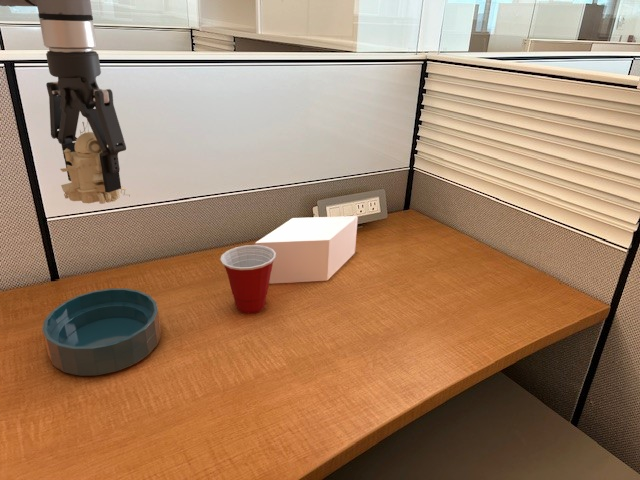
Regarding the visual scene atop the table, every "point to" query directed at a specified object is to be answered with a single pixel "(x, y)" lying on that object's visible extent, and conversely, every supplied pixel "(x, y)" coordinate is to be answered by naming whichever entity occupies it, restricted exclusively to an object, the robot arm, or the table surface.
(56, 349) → the shallow teal bowl
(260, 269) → the plastic cup
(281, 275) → the white rectangular box
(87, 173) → the robot
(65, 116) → the robot arm
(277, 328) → the table surface
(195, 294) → the table surface
